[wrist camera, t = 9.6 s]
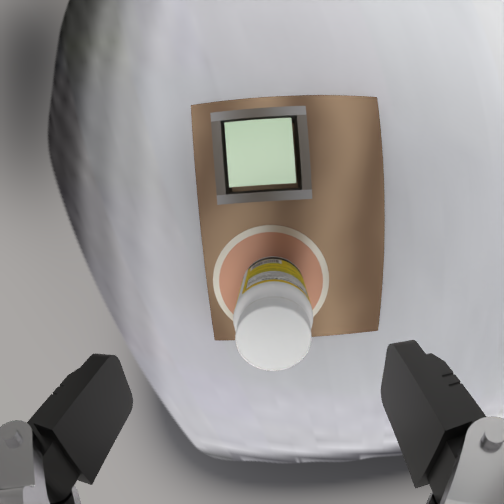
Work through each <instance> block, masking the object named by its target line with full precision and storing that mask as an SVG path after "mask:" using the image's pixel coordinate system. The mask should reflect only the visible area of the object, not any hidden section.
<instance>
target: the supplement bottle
mask: <svg viewBox="0 0 504 504" xmlns="http://www.w3.org/2000/svg"><path fill="white" fill-rule="evenodd" d="M233 324H234V328H235V331H236V335H235V341H236V346H237V349H238V351H239V353H240V355H241V356H242V357H243V359H244V360H246V361H247V362H248V363H249V364H251V365H252V366H254V367H256V368H259V369H262V370H267V371H279V370H284V369H287V368H290V367H292V366H294V365H296V364H297V363H299V362H300V361H301V360H302V359H303V358H304V357H305V356H306V354H307V353H308V351H309V348H310V346H311V340H312V334H311V328H312V324H313V310H312V306H311V302H310V299H309V296H308V293H307V289H306V286H305V283H304V280H303V277H302V274H301V272H300V270H299V269H298V268H297V267H296V265H294V264H293V263H292V262H291V261H289V260H287V259H285V258H282V257H276V256H269V257H264V258H261V259H259V260H257V261H255V262H254V263H253V264H251V265H250V266H249V268H248V269H247V270H246V272H245V274H244V276H243V279H242V283H241V287H240V291H239V295H238V298H237V302H236V306H235V309H234V314H233Z"/></svg>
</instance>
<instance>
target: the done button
mask: <svg viewBox="0 0 504 504" xmlns="http://www.w3.org/2000/svg"><path fill="white" fill-rule="evenodd" d="M224 125H225V139H226V152H227V165H228V178H229V187H241V186H255V185H270V184H288V183H296V172H295V157H294V144H293V131H292V120H291V118H274V119H259V120H246V121H235V122H226V123H224Z"/></svg>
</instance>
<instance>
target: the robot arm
mask: <svg viewBox="0 0 504 504" xmlns="http://www.w3.org/2000/svg"><path fill="white" fill-rule="evenodd" d="M381 398H382V403H383V406H384V409H385V411H386V413H387V416H388V418H389V421H390V423H391V426H392V428H393V431H394V433H395V436H396V438H397V441H398V443H399V446H400V448H401V451H402V454H403V456H404V459H405V462H406V464H407V467H408V469H409V472H410V475H411V478H412V481H413V483H414V486H415V488H418V487H421V486H424V485H428V484H430V487H431V489H432V493H431V494H430V496H429V498H428V500H427V503H426V504H504V419H503V418H500V417H492V416H491V417H486V416H485V414H484V413H483V411H482V410H481V409H480V407H479V406H478V405H477V403H476V402H475V400H474V399H473V398H472V396H471V395H470V394H469V392H468V391H467V390H466V388H465V387H464V386H463V384H460V380H459V379H458V378H457V377H456V375H453V371H452V370H451V369H450V368H449V366H448V365H447V364H446V362H445V361H443V360H441V359H440V358H438V357H437V356H435V355H433V354H432V353H430V354H425V352H424V351H423V350H422V348H421V347H420V346H419V345H418V343H417V342H416V341H415V340H410V341H405V342H399V343H393V344H390V345H389V346H388V348H387V353H386V360H385V366H384V373H383V379H382V385H381ZM132 404H133V398H132V393H131V391H130V388H129V385H128V383H127V380H126V377H125V375H124V372H123V369H122V366H121V363H120V361H119V359H118V357H116V356H115V355H105V354H92V355H91V356H90V357H89V358H88V359H87V361H86V362H85V363H84V364H83V365H82V366H81V367H80V368H79V369H77V370H76V371H74V372H72V373H71V374H69V375H68V376H67V377H66V378H65V379H64V381H63V382H62V383H61V384H60V387H57V388H56V390H55V391H54V392H53V395H52V394H51V395H50V397H49V398H48V399H47V400H46V401H45V402H44V403H43V404H42V406H41V407H40V408H39V409H38V410H37V412H36V413H35V414H34V415H33V416H32V417H31V419H30V420H29V421H28V422H27V423H26V422H23V421H18V420H15V421H10V422H7V423H6V424H3V425H2V426H1V427H0V504H81V501H80V498H79V494H78V491H77V489H76V487H75V486H74V484H75V483H76V481H77V480H79V481H82V482H85V483H88V484H91V485H92V484H93V482H94V480H95V478H96V476H97V474H98V472H99V470H100V468H101V466H102V464H103V463H104V460H105V459H106V457H107V455H108V453H109V451H110V449H111V447H112V446H113V444H114V442H115V440H116V438H117V436H118V434H119V433H120V431H121V429H122V427H123V425H124V423H125V421H126V420H127V418H128V416H129V414H130V412H131V410H132Z"/></svg>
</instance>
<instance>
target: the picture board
mask: <svg viewBox="0 0 504 504" xmlns="http://www.w3.org/2000/svg"><path fill="white" fill-rule="evenodd" d="M191 115H192V132H193V146H194V160H195V172H196V184H197V195H198V206H199V216H200V226H201V236H202V245H203V254H204V262H205V271H206V279H207V287H208V295H209V302H210V310H211V317H212V324H213V331H214V338H215V340H235V335H236V331H235V328H234V324H233V314H234V309H235V306H236V302H237V298H238V295H239V291H240V287H241V283H242V279H243V276H244V274H245V272H246V270H247V269H248V268H249V266H250V265H251V264H253V263H254V262H255V261H257V260H259V259H261V258H264V257H269V256H276V257H282V258H285V259H287V260H289V261H291V262H292V263H293V264H294V265H296V267H297V268H298V269H299V270H300V272H301V274H302V277H303V280H304V283H305V286H306V289H307V293H308V296H309V299H310V302H311V306H312V310H313V324H312V328H311V334H312V337H315V336H328V335H340V334H351V333H360V332H370V331H378V326H379V316H380V306H381V294H382V280H383V262H384V221H385V213H384V173H383V155H382V141H381V129H380V119H379V110H378V102H377V97H366V96H340V95H303V96H276V97H260V98H248V99H237V100H228V101H219V102H211V103H204V104H197V105H191ZM274 118H291V120H292V131H293V144H294V157H295V172H296V183H288V184H270V185H255V186H241V187H229V178H228V165H227V152H226V139H225V125H224V123H226V122H235V121H246V120H259V119H274Z"/></svg>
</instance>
